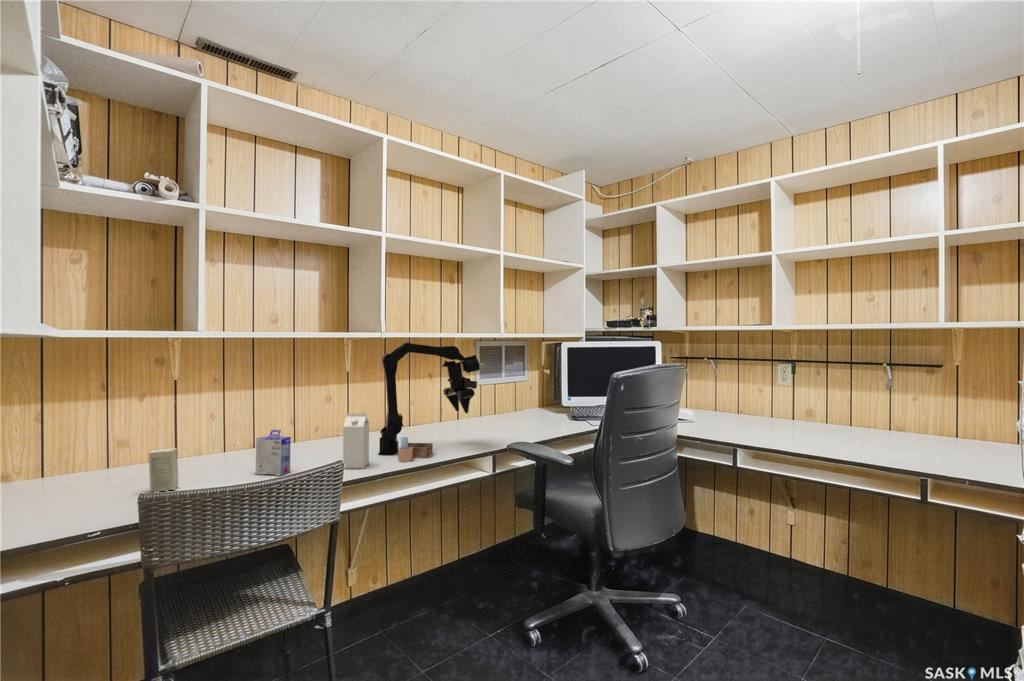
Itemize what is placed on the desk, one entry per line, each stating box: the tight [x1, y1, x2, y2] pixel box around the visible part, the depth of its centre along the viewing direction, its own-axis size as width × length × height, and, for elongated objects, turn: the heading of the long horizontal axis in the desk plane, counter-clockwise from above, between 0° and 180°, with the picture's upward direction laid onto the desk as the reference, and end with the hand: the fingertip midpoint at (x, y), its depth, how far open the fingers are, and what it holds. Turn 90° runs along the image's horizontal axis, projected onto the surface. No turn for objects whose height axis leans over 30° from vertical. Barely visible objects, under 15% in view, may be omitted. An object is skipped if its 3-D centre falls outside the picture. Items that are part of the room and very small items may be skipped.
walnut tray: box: [408, 442, 433, 459], centre depth 195 cm, size 10×8×4 cm
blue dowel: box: [400, 436, 409, 449], centre depth 187 cm, size 4×2×8 cm
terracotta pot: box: [397, 446, 414, 463], centre depth 187 cm, size 5×5×5 cm
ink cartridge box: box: [255, 429, 291, 476], centre depth 170 cm, size 10×6×14 cm, turn 80°
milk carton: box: [342, 412, 370, 469], centre depth 179 cm, size 7×7×19 cm
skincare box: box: [148, 447, 179, 493], centre depth 151 cm, size 6×4×12 cm
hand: (462, 412), depth 209 cm, fingers open, 9 cm apart
